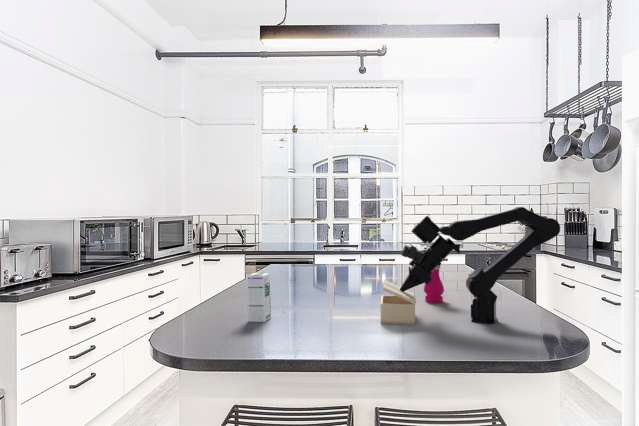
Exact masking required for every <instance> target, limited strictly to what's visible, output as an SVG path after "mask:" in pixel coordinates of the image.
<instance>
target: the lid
mask: <svg viewBox="0 0 639 426" xmlns="http://www.w3.org/2000/svg"><path fill="white" fill-rule="evenodd" d="M400 288H401V286H400V285H397V284H395V283H392V282H390V281H388V280H386V279H384V280H383V287H382V291H385V292H387V293H389V294H390V295H396V296H398V297H400V298H402V299H404V300H406V301H409V302H411V303H413V304H415V305H416V303H417V300H416V295H415V293H414V292H412V291H410V290H409V289H408V290H406V291H403V292H402V291H401V290H400Z"/></svg>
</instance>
